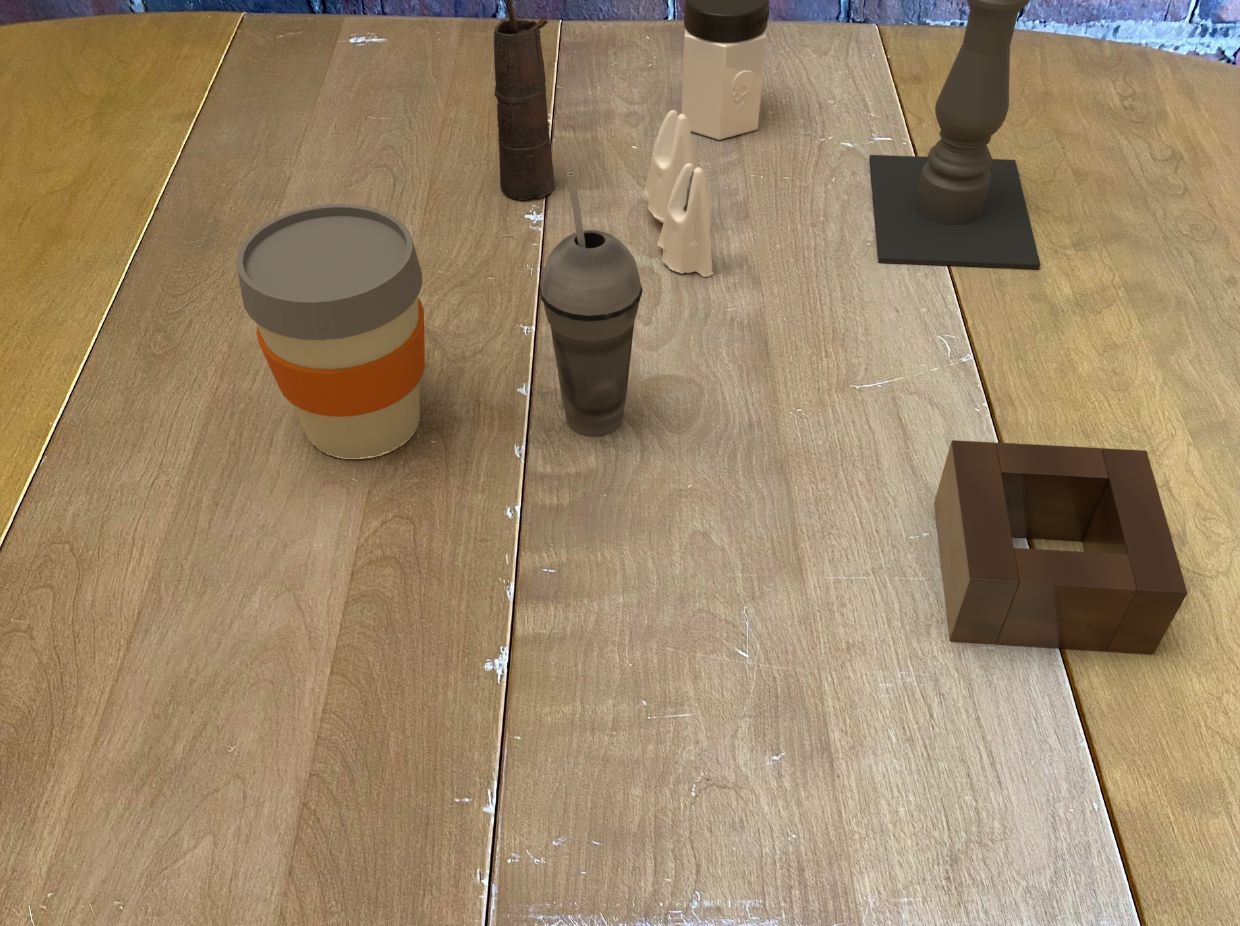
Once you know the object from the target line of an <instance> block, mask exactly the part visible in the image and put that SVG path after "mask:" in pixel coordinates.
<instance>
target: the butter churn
mask: <svg viewBox="0 0 1240 926" xmlns="http://www.w3.org/2000/svg"><path fill="white" fill-rule="evenodd" d="M505 2H506V5H507V16H508V19H505V18H504V19H500V22H498V23H497V24H496V25H495V26H494V30H493V59H494V60H493V61H494V62H493V63H494V66H493V67H494V79H495V85H494V86H495V87H494V93H493V95H494V97H495V98H496V100H497V104H496V112H497V115H496V118H497V128H498V129H497V133H498V135H497V136H498V155H499V156H498V157H499V158H498V160H499V186H500V189H501V192H502V194H503V195H505V196H506V197H508V198H511V199H516V200H522V201H523V200H524V201H526V200H529V199H532V198H536V199H541V198H545V197H546V196H548V195H550V194H551V193H552V191H553V190H554V189H555V184H556V183H555V176H554V166H553V158H552V157H553V156H552V147H551V136H550V128H549V117H548V116H549V115H548V101H547V87H546V86H547V85H546V82H547V80H546V72H545V60H544V56H543V47H542V40H541V39H542V38H541V37H542V36H541V29H542V28H544V27H546V25H547V24H548V23H549V22H548V19H547V18H546V17H545V16H543V17H541V18H540V19H539V20H538V21H535V20H528V19H522V18H516V13H515V10H514V7H513V6H514V5H513V1H512V0H505Z"/></svg>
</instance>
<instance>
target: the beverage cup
mask: <svg viewBox="0 0 1240 926" xmlns="http://www.w3.org/2000/svg"><path fill="white" fill-rule="evenodd" d="M566 177H567V181H568V183H567V184H568V188H569V195H570V202H571V208H572V214H573V221H574V226H575V228H574V229H575V232H574V233H571V234H570V235H568V236H566V237H565V238H562V240H561V241H559V243H557V244H556V245H555V247H553V249H551V251H550V253H549V255H548V257H547V259H546V262H545V265H544V268H543V270H542V274H541V284H540V285H539V286H540V287H539V296H540V301H541V302H542V303H543V308H544V312H545V316H546V319H547V322H548V323H549V325H550V332H551V339H552V345H553V351H554V357H555V364H556V370H557V376H558V377H557V378H558V382H559V388H560V389H559V390H560V395H561V396H560V397H561V401H562V408H563V409H564V410H563V411H564V414H565V420H566V422H565V423H566V424H567V426H568V427H569V429H570V430H572V431H574V432H575V433H577V434H580V435H583V436H587V437H600V436H601V437H602V436H605V435H608V434H611V433H613V432H614V431H617V430H618V429H619V427H620V426H621V425H622V424H623V420H624V412H625V406H626V403H627V396H628V385H629V377H630V376H629V375H630V368H631V367H630V365H631V356H632V348H633V347H632V346H633V337H634V329H635V321H636V318H637V315H638V309H639V306H640V302H641V298H642V294H643V286H642V282H641V277H640V273H639V270H638V266H637V262H636V259H635V258H634V255H633V254H632V252H631V251H630V250H629V248H628V247H627V246H626V245H625V244H624V243H623V242H622V240H620V239H619V238H617V237H615V236H613V235H612V234H611V233H608V232H604V231H601V230H595V229H586V230H584V225H583V222H582V214H581V207H580V200H579V194H578V187H577V180H576V174H575V172H574V171H570V172H568V173H567V174H566Z"/></svg>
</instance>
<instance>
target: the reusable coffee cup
mask: <svg viewBox="0 0 1240 926" xmlns="http://www.w3.org/2000/svg"><path fill="white" fill-rule="evenodd" d="M235 264H236V269H237V274H238V279H239V287H240V292H241V298H242V304H243V307H244V310H245V312H246V313H247V314H248V316H249V318H250V319H251V320H253V321H254V322H255V324H256V332H255V333H256V339H257V343H258V345H259V347H260V349H261V352H262V354H263V356H264V359H265V360H266V363H267V364H268V367H269V369H270V371H271V373H272V375H273V378H274V380H275V382H276V384H277V387H278V389H279V390H280V393H282V394H281V395H282V396H283V398H285V399H286V400H287V401H288V402H290V404H292V406H293V408H294V410H295V413H296V415H297V418H298V419H299V421H300V424H301V426H302V428H303V431H304V433H305V435H306V438H307V439H308V438H309V439H308V441H309V440H310V441H309V442H310V444H311V443H313V444H314V445H315V446H316V447H317V448H318V449H320V450H321V451H324V452H325V453H328V454H331V455H334V456H339V457H343V458H360V457H368V456H376V455H379V454H381V453H383V452H387V451H391V450H392V449H394V448H395V447H398V446H400V445H401V444H402V443H404V442H405V441H406V440H408V439H409V437H411V435H412V434H413V433H414V432H415V431H416V432H417V430H418V429H417V427H418V428H419V426H418V425H420V423H419V422H420V421H421V395H420V393H421V392H420V391H421V388H420V387H421V384H420V381H421V379H422V378H423V375H424V371H425V368H426V358H425V356H426V355H425V354H426V353H425V352H426V349H425V345H426V344H425V309H424V307H423V304H422V301H421V299H420V298H419V295H420V292H421V289H422V286H423V272H422V268H421V264H420V261H419V258H418V254H417V251H416V247H415V244H414V240H413V237H412V234H411V232H410V230H409V228H408V227H407V226H406V225H405V224H404V223H403V222H402V221H401V220H399V219H398V218H397V217H395V216H394V215H392V214H390V213H388V212H386V211H384V210H381V209H378V208H374V207H371V206H365V205H359V204H351V203H349V204H347V203H333V204H332V203H330V204H319V205H313V206H309V207H303V208H300V209H296V210H292V211H289V212H285V213H284V214H281V215H279V216H277V217H275V218H272V219H270V220H269V221H267V222H265V223H263V224H262V225H260V226H259V227H258V228H256V229H255V230H254V231H253V232H252V233H250V234H249V235H248V237H246V239H245V240H244V241H243V242H242V243H241V246H240V248H239V250H238V252H237V256H236V263H235ZM416 429H417V430H416ZM416 432H415V433H416ZM321 451H320V452H321Z"/></svg>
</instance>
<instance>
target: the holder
mask: <svg viewBox="0 0 1240 926" xmlns="http://www.w3.org/2000/svg"><path fill="white" fill-rule="evenodd" d="M934 498H935V499H934V501H933V506H934V515H935V525H936V533H937V542H938V551H939V552H938V553H939V560H940V567H941V568H940V569H941V576H942V577H941V578H942V584H943V585H942V586H943V596H944V603H945V604H944V605H945V613H946V621H947V629H948V638H949V639H948V640H949V641H950V642H960V643H961V642H962V643H975V644H976V643H979V644H991V645H992V644H993V645H1003V646H1004V645H1005V646H1020V647H1035V648H1049V649H1050V648H1051V649H1066V650H1079V651H1094V652H1113V653H1126V654H1127V653H1128V654H1129V653H1130V654H1142V655H1143V654H1146V655H1155V653H1156V651H1157V649H1158V647H1159V645H1160V644H1161V642H1162V640H1163V638H1164V636H1165V634H1166V633H1167V631H1168V629H1169V627H1170V626H1171V624H1172V622H1173V620H1174V618H1175V617H1176V615H1177V613H1178V612H1179V610H1180V608H1181V606H1182V604H1183V602H1184V601H1185V599H1186V598H1187V595H1188V589H1187V586H1186V582H1185V578H1184V574H1183V571H1182V569H1181V564H1180V561H1179V558H1178V554H1177V551H1176V548H1175V544H1174V541H1173V538H1172V534H1171V531H1170V527H1169V524H1168V523H1169V522H1168V521H1167V516H1166V513H1165V510H1164V506H1163V502H1162V499H1161V496H1160V492H1159V487H1158V486H1157V482H1156V478H1155V475H1154V472H1153V468H1152V464H1151V461H1150V457H1149V454H1148V450H1145V449H1125V448H1110V447H1109V448H1108V447H1107V448H1106V447H1102V448H1101V447H1090V446H1089V447H1088V446H1074V445H1073V446H1069V445H1052V444H1034V443H1033V444H1032V443H1014V442H990V441H973V440H956V439H955V440H954V439H953V440H951V442H950V444H949V449H948V451H947V456H946V459H945V462H944V466H943V470H942V472H941V476H940V480H939V484H938V488H937V491H936V494H935V497H934ZM1013 538H1025V539H1026V538H1027V539H1028V538H1030V539H1043V540H1044V539H1045V540H1046V539H1047V540H1061V541H1062V540H1064V541H1079V542H1082V546H1083V550H1084V551H1075V550H1074V551H1073V550H1059V549H1058V550H1057V549H1039V548H1024V547H1014V542H1013Z"/></svg>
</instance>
